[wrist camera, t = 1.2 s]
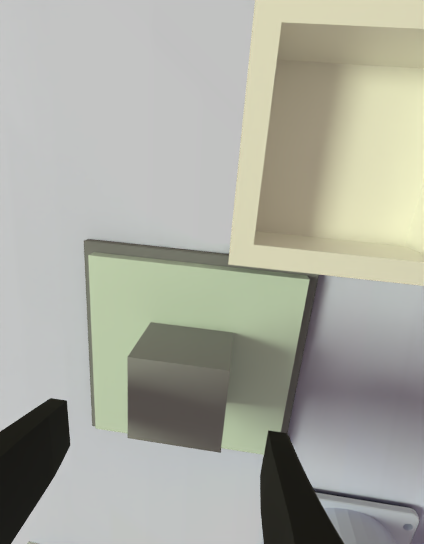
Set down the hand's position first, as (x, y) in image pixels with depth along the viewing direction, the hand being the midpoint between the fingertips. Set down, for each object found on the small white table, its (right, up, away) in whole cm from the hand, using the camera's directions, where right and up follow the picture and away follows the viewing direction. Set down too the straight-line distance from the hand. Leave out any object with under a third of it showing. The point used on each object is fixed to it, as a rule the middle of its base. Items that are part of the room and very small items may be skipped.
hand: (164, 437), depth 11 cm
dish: (+7, +10, +2) cm, 13 cm away
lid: (+1, +1, +5) cm, 5 cm away
